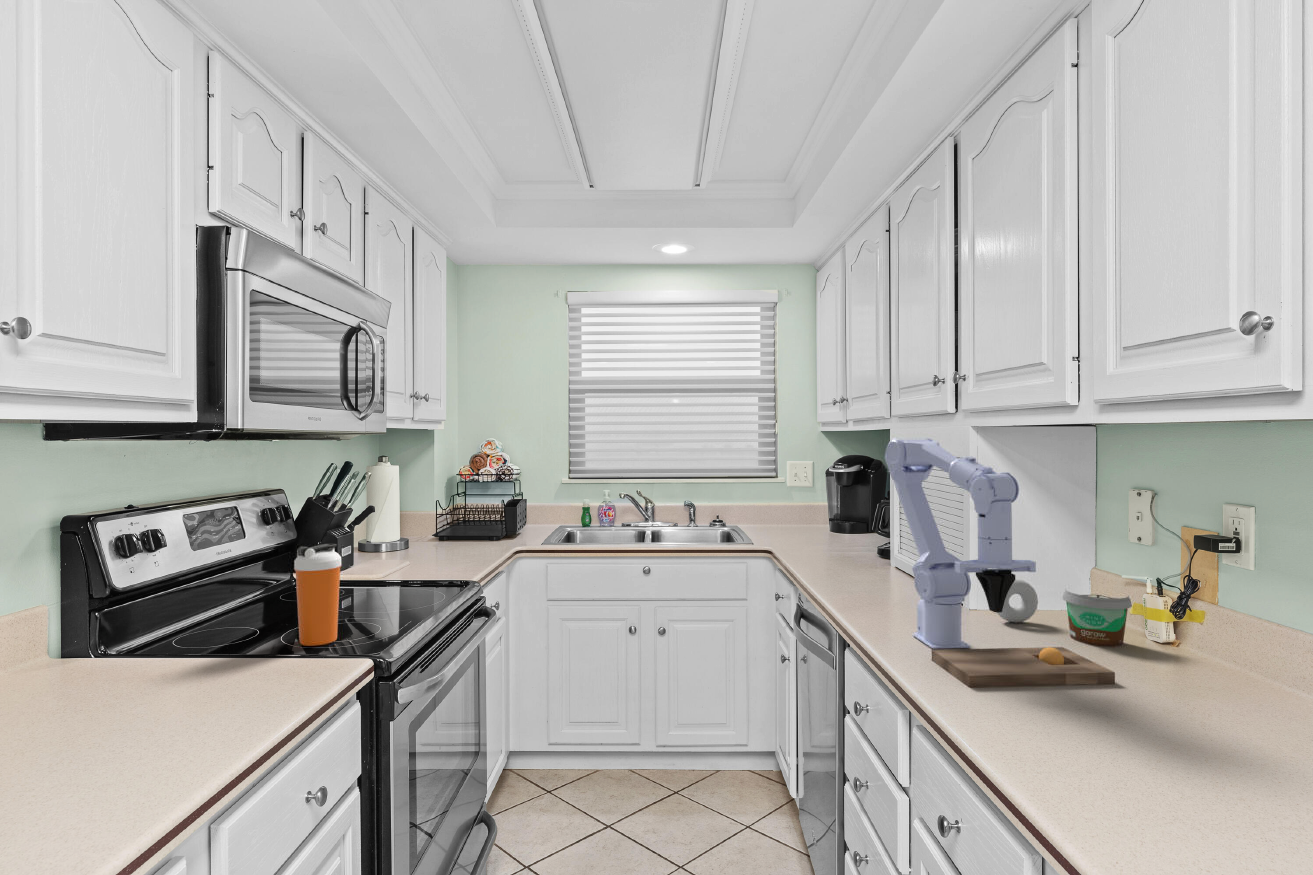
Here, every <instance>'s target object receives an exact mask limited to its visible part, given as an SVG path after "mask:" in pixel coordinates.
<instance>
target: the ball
mask: <svg viewBox="0 0 1313 875" xmlns="http://www.w3.org/2000/svg"><path fill="white" fill-rule="evenodd" d="M1048 647H1049V648H1045V649H1043V650H1042V651H1041V652H1040V654H1039V659H1040V660H1042V661H1044V662H1046V663H1048V664H1049V665H1063V664H1064V657H1063V655H1062V653H1061V652H1060V651H1059V650H1057V649H1055V648H1051V646H1048Z"/></svg>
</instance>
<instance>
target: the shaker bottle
mask: <svg viewBox="0 0 1313 875" xmlns="http://www.w3.org/2000/svg"><path fill="white" fill-rule="evenodd" d="M337 546H338V545H337V543H324V544H319V545H318V544H317V545H313V546H310V547H308V546H300V547H299V548H298V549H297V551H296V553H297V554H296V558H295V559H294V560H293V562H294V564H293V565H294V566H293V567H294V568H293V569H294V571H295V580H296V581H295V584H296V600H297V601H296V602H297V603H296V604H297V618H298V620H297V621H298V635H299V636H298V638H299V639H298V640H299V644H300V645H302V646H307V647H310V646H311V647H312V646H313V647H314V646H323V645H328V644H330V643H333V642H335V641H337V639H338V626H339V625H338V623H339V622H338V621H339V604H340V602H339V600H340V581H341V580H340V579H341V567H342V557H341V555H340V554H339V553H338V552H336V551H335V548H336V547H337Z"/></svg>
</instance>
